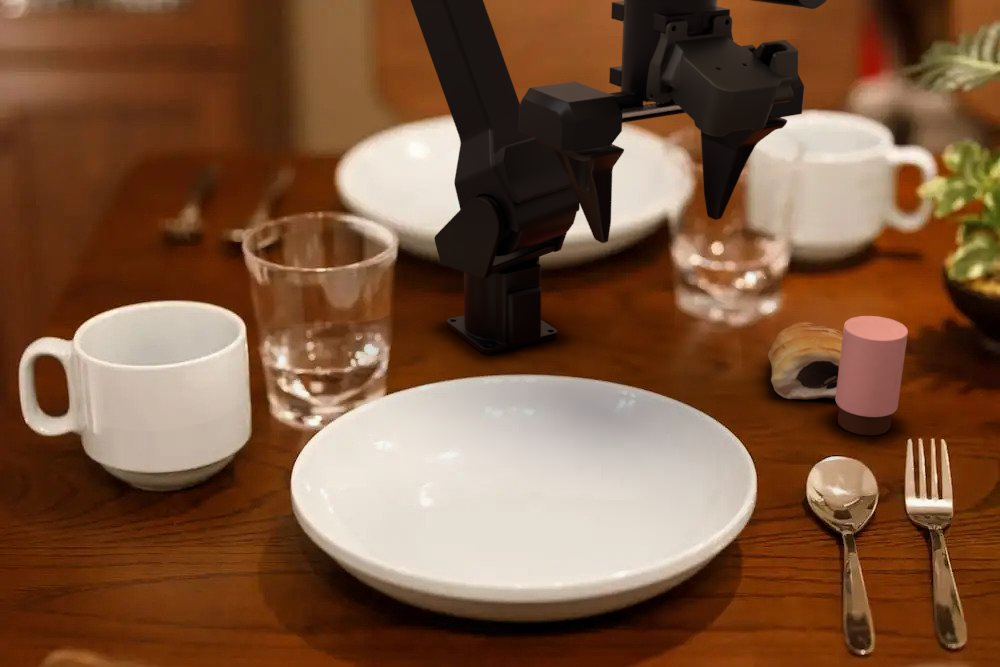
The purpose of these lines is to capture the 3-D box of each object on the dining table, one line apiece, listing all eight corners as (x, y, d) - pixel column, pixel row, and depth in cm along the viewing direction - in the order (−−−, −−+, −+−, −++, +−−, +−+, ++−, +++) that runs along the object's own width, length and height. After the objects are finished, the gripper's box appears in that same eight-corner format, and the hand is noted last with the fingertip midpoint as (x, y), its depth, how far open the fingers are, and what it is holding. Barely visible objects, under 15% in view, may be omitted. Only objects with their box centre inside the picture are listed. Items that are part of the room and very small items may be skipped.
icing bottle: (820, 418, 88) (830, 322, 85) (864, 405, 89) (876, 311, 87) (862, 443, 84) (875, 345, 82) (907, 429, 86) (921, 332, 83)
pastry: (762, 345, 98) (767, 298, 97) (853, 350, 98) (860, 303, 96) (770, 401, 90) (775, 350, 88) (870, 407, 89) (877, 356, 88)
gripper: (619, 24, 70) (610, 295, 76) (877, -5, 78) (850, 241, 84) (514, -6, 78) (514, 239, 85) (756, -29, 87) (739, 195, 93)
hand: (658, 229), depth 87 cm, fingers open, 9 cm apart
